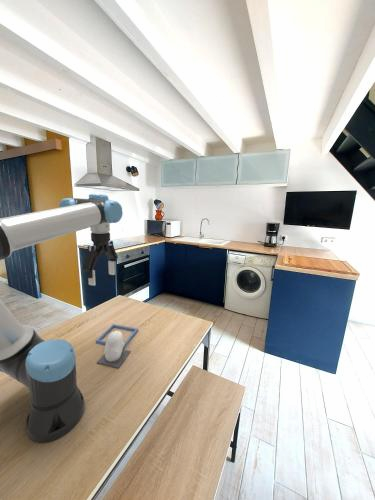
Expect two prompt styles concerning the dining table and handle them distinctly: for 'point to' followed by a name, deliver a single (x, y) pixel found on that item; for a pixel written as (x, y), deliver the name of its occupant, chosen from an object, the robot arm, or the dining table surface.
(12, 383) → the dining table surface
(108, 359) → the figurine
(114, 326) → the cradle
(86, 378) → the dining table surface
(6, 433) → the dining table surface
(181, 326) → the dining table surface
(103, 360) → the mat
